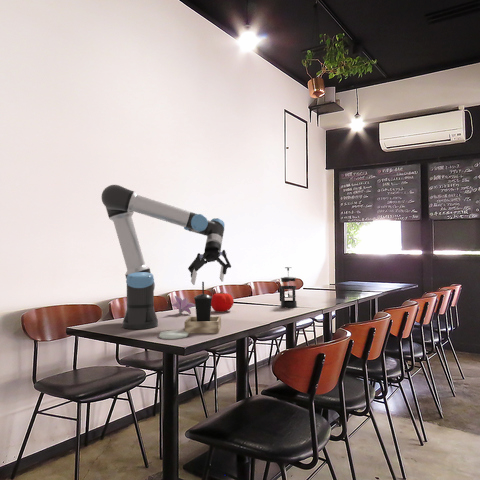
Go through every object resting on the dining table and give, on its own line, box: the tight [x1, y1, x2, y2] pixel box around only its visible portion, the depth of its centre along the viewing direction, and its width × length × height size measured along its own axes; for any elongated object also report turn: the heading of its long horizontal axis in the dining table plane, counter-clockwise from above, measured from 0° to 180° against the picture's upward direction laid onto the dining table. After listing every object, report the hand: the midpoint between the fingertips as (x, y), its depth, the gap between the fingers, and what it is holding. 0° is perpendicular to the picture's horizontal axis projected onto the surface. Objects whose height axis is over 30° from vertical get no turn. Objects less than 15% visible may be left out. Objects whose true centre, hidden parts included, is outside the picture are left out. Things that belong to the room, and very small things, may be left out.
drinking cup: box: [193, 281, 213, 321], centre depth 172 cm, size 8×8×20 cm
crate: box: [184, 315, 222, 334], centre depth 172 cm, size 14×14×4 cm
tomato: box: [211, 291, 235, 313], centre depth 224 cm, size 13×12×11 cm
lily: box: [171, 295, 195, 316], centre depth 216 cm, size 12×12×10 cm
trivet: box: [158, 329, 189, 340], centre depth 160 cm, size 11×11×1 cm
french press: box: [279, 266, 298, 309], centre depth 240 cm, size 12×9×23 cm
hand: (206, 281), depth 183 cm, fingers open, 13 cm apart
